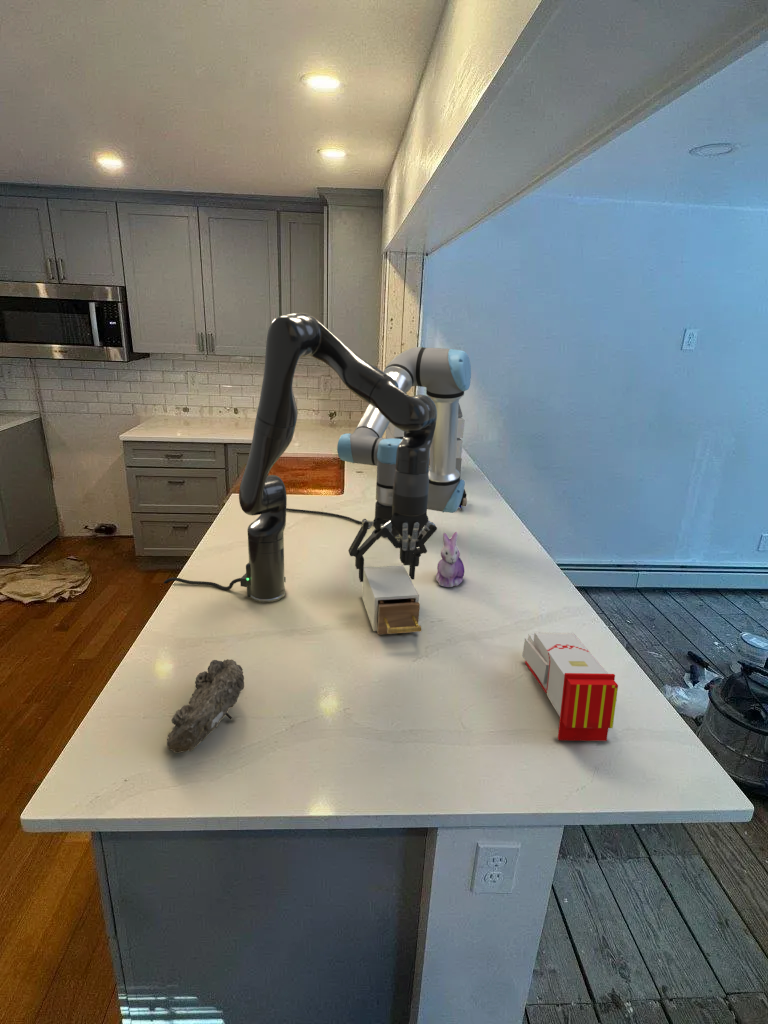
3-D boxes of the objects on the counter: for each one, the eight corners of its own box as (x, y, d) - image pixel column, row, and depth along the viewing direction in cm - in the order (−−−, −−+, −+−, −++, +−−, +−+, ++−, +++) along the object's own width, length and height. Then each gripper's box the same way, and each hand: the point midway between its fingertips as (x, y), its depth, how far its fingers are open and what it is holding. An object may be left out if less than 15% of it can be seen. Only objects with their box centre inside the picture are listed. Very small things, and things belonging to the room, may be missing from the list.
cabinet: (416, 628, 141) (419, 594, 138) (373, 631, 139) (374, 597, 136) (401, 595, 157) (403, 565, 154) (362, 598, 155) (363, 567, 151)
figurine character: (467, 515, 225) (461, 499, 238) (469, 498, 221) (463, 482, 235) (450, 514, 224) (445, 498, 238) (452, 497, 221) (447, 482, 234)
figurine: (445, 591, 160) (450, 542, 155) (426, 576, 169) (430, 529, 164) (473, 585, 164) (478, 537, 159) (453, 571, 173) (457, 525, 168)
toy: (569, 616, 131) (627, 681, 101) (563, 669, 133) (618, 748, 104) (517, 615, 130) (560, 680, 101) (512, 669, 133) (553, 747, 104)
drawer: (424, 645, 133) (426, 617, 130) (383, 648, 131) (384, 620, 128) (402, 600, 153) (404, 575, 150) (366, 602, 151) (367, 577, 148)
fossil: (192, 660, 117) (244, 628, 112) (224, 691, 120) (276, 661, 115) (142, 746, 98) (202, 712, 93) (182, 779, 101) (242, 748, 96)
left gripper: (384, 496, 117) (380, 572, 122) (445, 495, 119) (439, 569, 125) (377, 485, 123) (374, 558, 129) (435, 484, 126) (429, 555, 132)
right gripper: (342, 507, 135) (341, 587, 142) (442, 505, 140) (436, 582, 148) (338, 497, 142) (337, 574, 149) (434, 496, 147) (428, 570, 154)
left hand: (406, 563), depth 127 cm, fingers closed
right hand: (386, 578), depth 148 cm, fingers open, 13 cm apart
